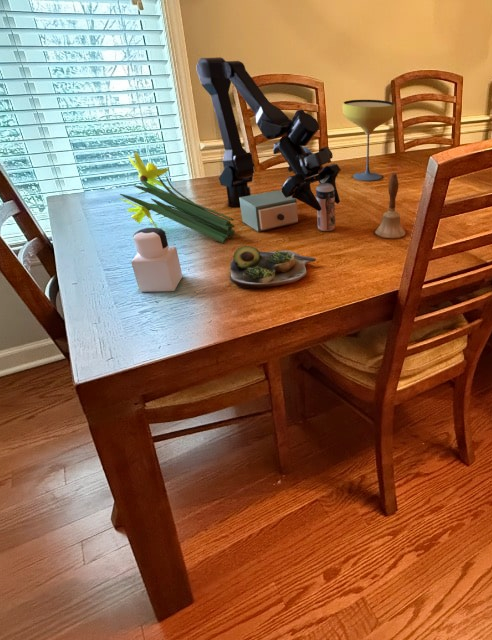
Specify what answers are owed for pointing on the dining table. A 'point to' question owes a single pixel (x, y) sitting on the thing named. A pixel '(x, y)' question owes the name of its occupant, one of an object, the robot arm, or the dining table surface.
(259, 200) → the drawer box
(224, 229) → the daffodil flowers
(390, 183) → the hand bell
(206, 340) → the dining table surface
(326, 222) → the beer can
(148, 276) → the pink block figurine
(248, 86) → the robot arm
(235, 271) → the avocado toast plate
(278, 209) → the drawer
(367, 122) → the cocktail glass
